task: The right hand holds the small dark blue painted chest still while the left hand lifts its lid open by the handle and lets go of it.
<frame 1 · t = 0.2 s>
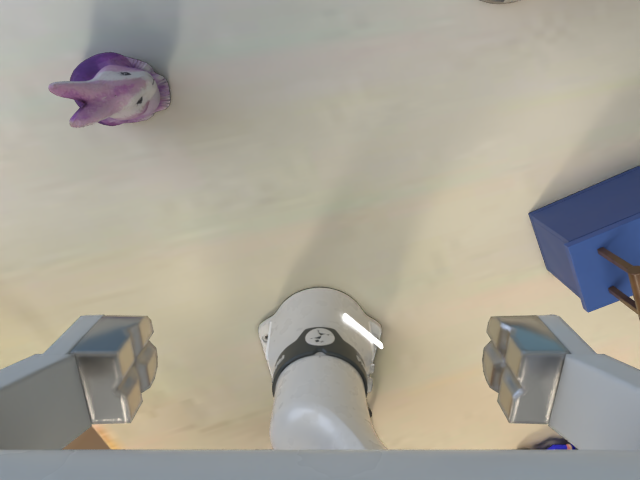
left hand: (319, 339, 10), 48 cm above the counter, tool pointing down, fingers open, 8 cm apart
chest: (590, 219, 60), on the counter
figurine: (135, 87, 53), on the counter
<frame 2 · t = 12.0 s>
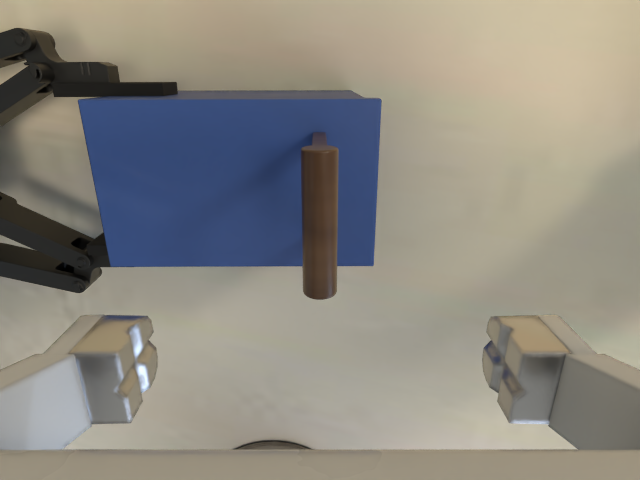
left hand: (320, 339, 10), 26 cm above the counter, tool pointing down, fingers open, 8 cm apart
right hand: (180, 170, 28), fingers closed on chest, 9 cm apart
chest: (257, 153, 35), on the counter, touching right hand
lid: (225, 203, 21), point 15 cm above the counter, hinge at 0.0°
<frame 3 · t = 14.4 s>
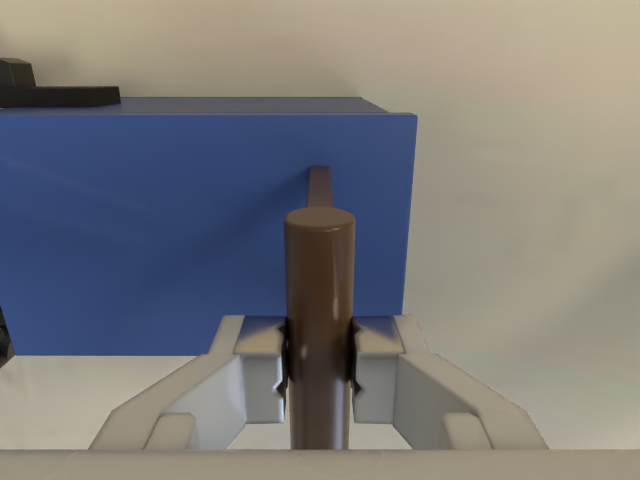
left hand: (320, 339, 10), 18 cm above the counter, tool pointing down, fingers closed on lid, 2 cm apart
chest: (238, 177, 27), on the counter, touching right hand
lid: (168, 285, 13), point 15 cm above the counter, hinge at 0.7°, touching left hand
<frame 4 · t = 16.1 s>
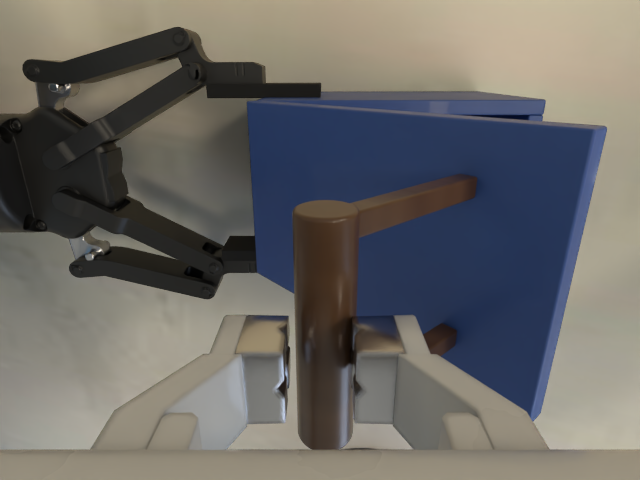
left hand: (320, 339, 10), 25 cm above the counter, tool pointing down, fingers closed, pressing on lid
right hand: (320, 174, 28), fingers closed on chest, 9 cm apart
chest: (374, 155, 34), on the counter, touching right hand
lid: (303, 248, 16), point 19 cm above the counter, hinge at 47.5°, touching left hand
when the right hand's fingers open (7 cm above the counter, at t = 20.8 s): chest stays where it is, on the counter.
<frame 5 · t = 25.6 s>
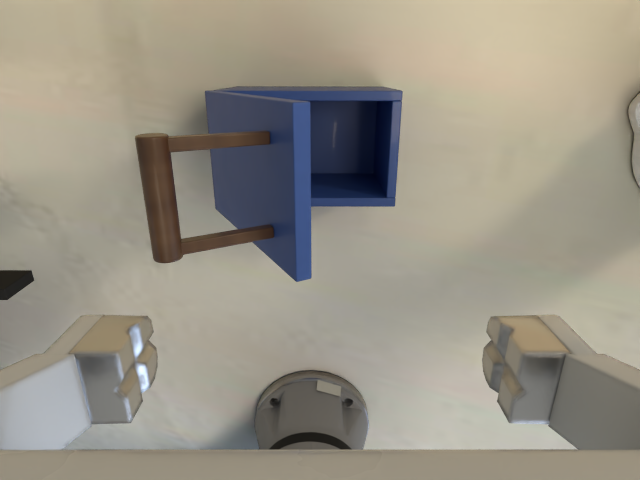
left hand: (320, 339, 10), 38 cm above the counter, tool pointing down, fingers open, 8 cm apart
chest: (310, 134, 45), on the counter
lid: (198, 175, 27), point 20 cm above the counter, hinge at 61.1°
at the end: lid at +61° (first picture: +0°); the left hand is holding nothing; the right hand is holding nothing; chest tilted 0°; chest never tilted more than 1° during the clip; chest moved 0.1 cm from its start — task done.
